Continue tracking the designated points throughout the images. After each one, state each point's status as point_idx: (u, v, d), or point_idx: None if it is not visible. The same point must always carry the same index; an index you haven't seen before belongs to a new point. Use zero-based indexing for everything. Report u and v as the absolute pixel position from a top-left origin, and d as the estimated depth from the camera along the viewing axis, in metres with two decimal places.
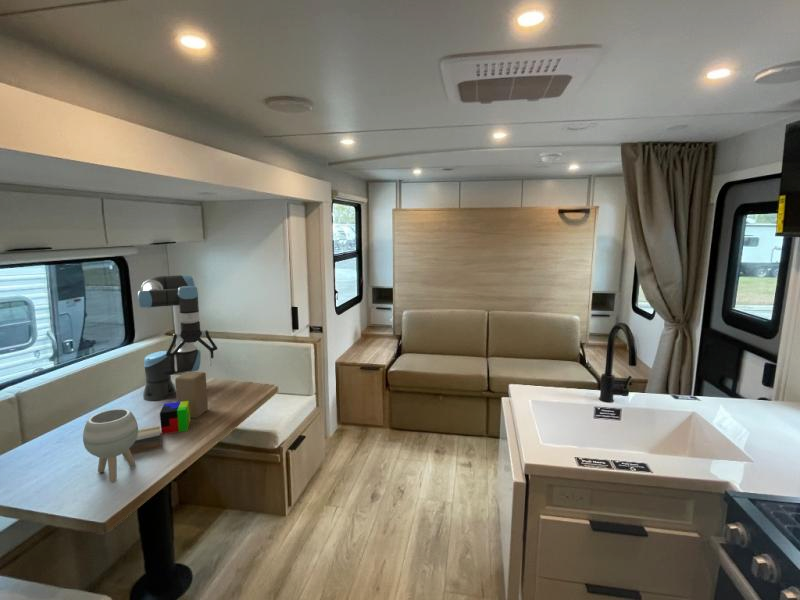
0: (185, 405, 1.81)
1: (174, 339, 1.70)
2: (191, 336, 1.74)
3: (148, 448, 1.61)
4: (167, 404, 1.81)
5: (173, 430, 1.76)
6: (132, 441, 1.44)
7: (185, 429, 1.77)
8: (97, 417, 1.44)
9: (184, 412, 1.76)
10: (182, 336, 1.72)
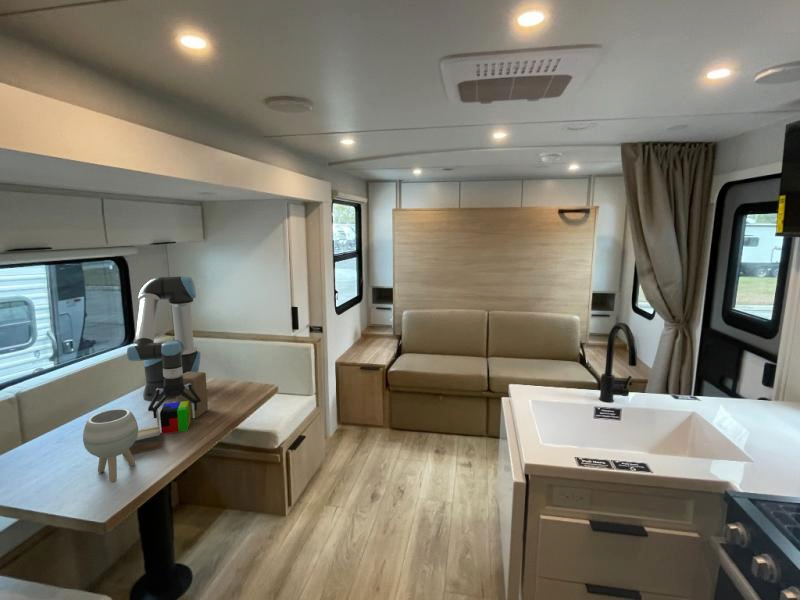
0: (185, 405, 1.81)
1: (157, 394, 1.73)
2: (174, 390, 1.77)
3: (148, 448, 1.61)
4: (167, 404, 1.81)
5: (173, 430, 1.76)
6: (132, 441, 1.44)
7: (185, 429, 1.77)
8: (97, 417, 1.44)
9: (184, 412, 1.76)
10: (165, 391, 1.75)
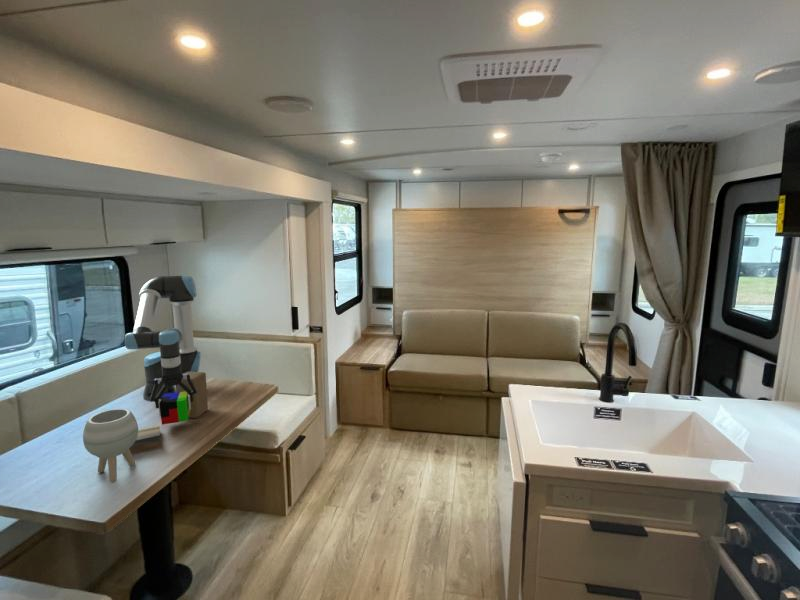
0: (184, 395, 1.81)
1: (156, 384, 1.73)
2: (172, 379, 1.76)
3: (148, 448, 1.61)
4: (166, 395, 1.81)
5: (173, 420, 1.76)
6: (132, 441, 1.44)
7: (185, 420, 1.78)
8: (97, 417, 1.44)
9: (184, 403, 1.76)
10: (163, 380, 1.74)
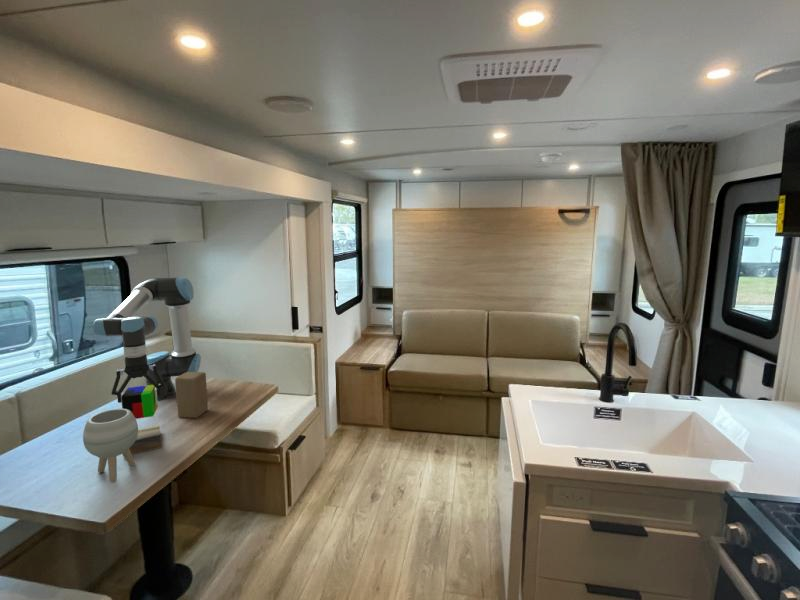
0: (151, 388, 1.65)
1: (118, 376, 1.58)
2: (137, 371, 1.61)
3: (148, 448, 1.61)
4: (131, 388, 1.66)
5: (137, 416, 1.60)
6: (132, 441, 1.44)
7: (151, 415, 1.62)
8: (97, 417, 1.44)
9: (149, 396, 1.61)
10: (126, 371, 1.59)
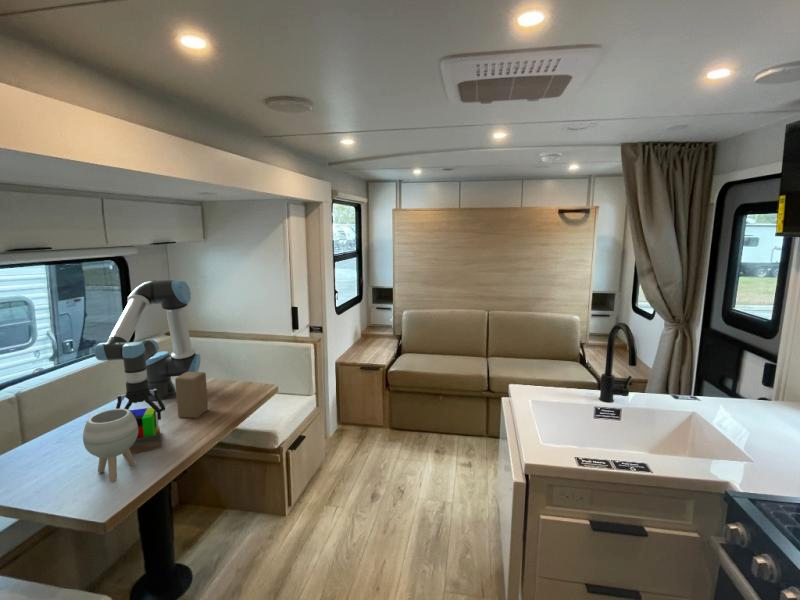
0: (152, 411, 1.66)
1: (119, 401, 1.59)
2: (138, 395, 1.62)
3: (148, 448, 1.61)
4: (132, 411, 1.67)
5: None
6: (132, 441, 1.44)
7: None
8: (97, 417, 1.44)
9: (150, 420, 1.62)
10: (127, 397, 1.60)
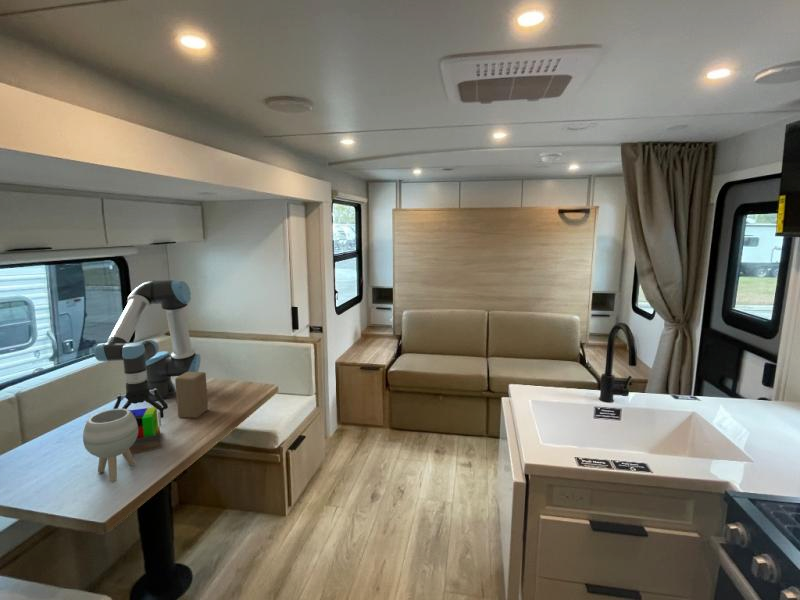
0: (152, 411, 1.67)
1: (118, 401, 1.59)
2: (138, 396, 1.62)
3: (148, 448, 1.61)
4: (132, 411, 1.67)
5: None
6: (132, 441, 1.44)
7: None
8: (97, 417, 1.44)
9: (150, 420, 1.62)
10: (127, 397, 1.60)
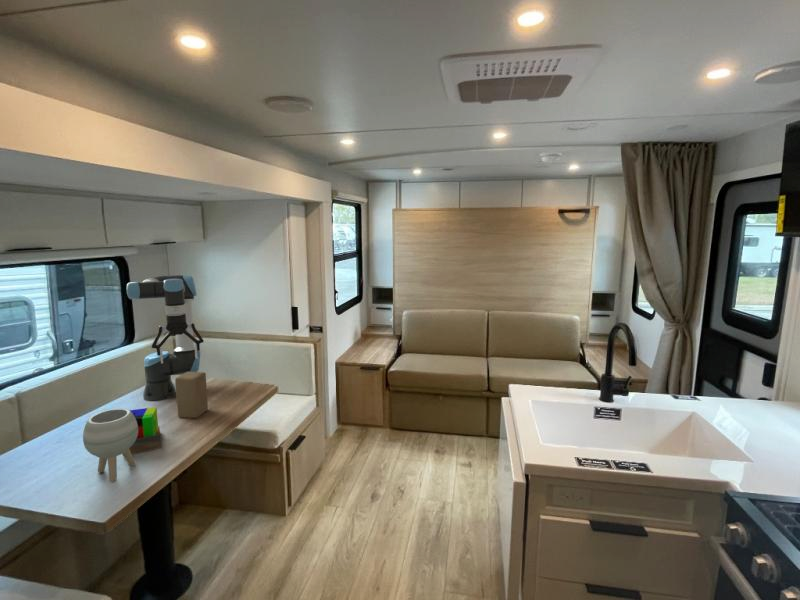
0: (152, 411, 1.67)
1: (160, 331, 1.71)
2: (177, 328, 1.75)
3: (148, 448, 1.61)
4: (132, 411, 1.67)
5: None
6: (132, 441, 1.44)
7: None
8: (97, 417, 1.44)
9: (150, 420, 1.62)
10: (168, 328, 1.73)
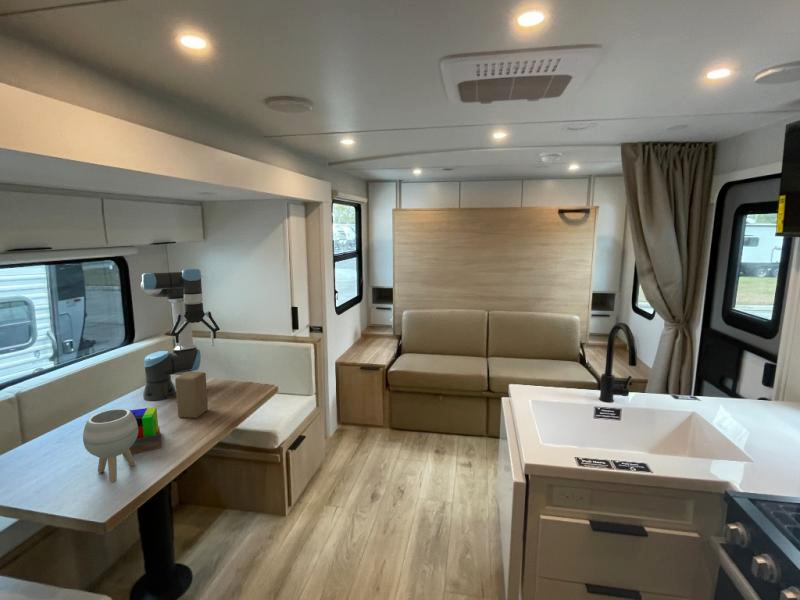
0: (152, 411, 1.67)
1: (178, 319, 1.78)
2: (194, 317, 1.82)
3: (148, 448, 1.61)
4: (132, 411, 1.67)
5: None
6: (132, 441, 1.44)
7: None
8: (97, 417, 1.44)
9: (150, 420, 1.62)
10: (186, 316, 1.80)
